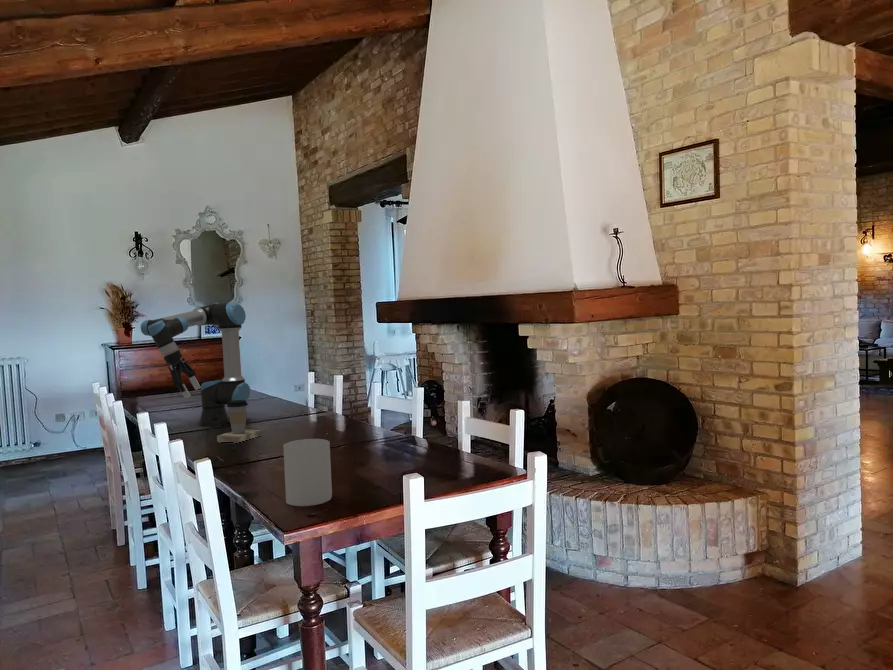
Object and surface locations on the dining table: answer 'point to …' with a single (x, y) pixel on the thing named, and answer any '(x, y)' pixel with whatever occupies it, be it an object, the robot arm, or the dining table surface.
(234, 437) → the beige ridged slab
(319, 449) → the container
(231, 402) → the coffee cup
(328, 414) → the dining table surface
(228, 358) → the robot arm
